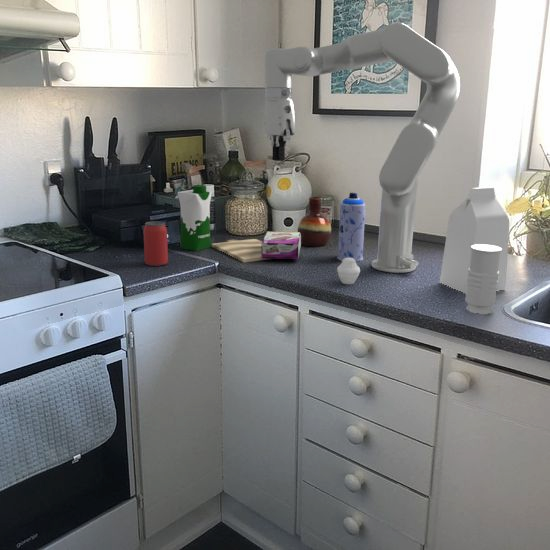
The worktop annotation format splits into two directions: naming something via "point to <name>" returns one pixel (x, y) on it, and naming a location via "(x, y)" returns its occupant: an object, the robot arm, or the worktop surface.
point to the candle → (482, 278)
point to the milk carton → (195, 218)
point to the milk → (474, 237)
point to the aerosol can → (351, 228)
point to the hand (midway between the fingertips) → (278, 160)
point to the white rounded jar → (348, 271)
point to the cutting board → (242, 249)
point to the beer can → (155, 243)
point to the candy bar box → (281, 245)
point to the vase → (314, 225)
